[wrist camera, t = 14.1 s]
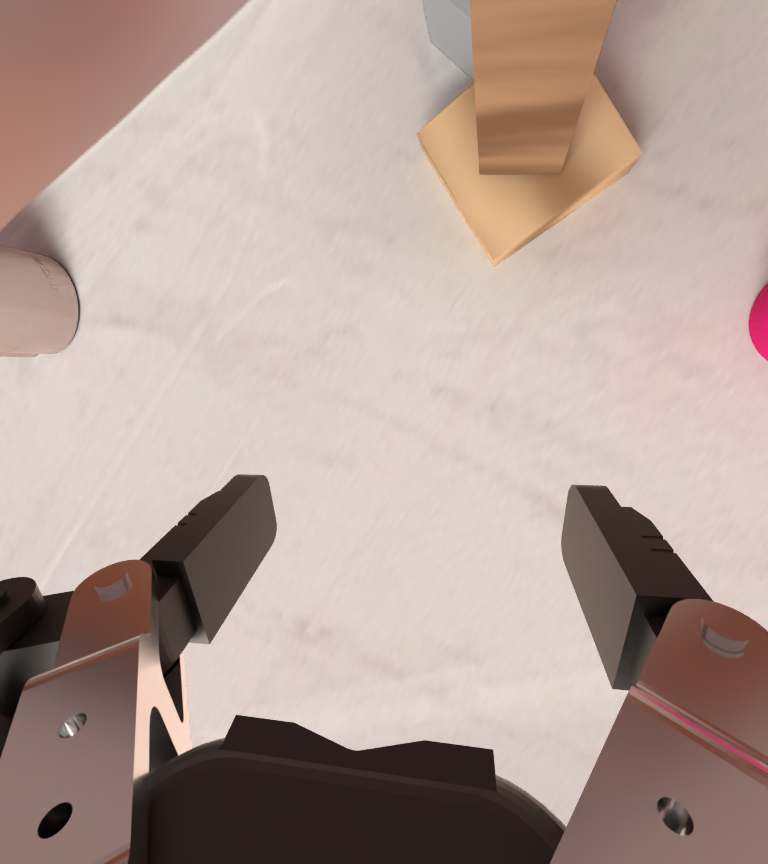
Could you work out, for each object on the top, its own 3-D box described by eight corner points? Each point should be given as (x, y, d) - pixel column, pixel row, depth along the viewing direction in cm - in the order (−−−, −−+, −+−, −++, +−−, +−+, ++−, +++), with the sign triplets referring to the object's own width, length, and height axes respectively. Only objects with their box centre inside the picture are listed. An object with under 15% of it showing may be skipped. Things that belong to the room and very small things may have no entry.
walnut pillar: (559, 174, 22) (633, -50, 11) (479, 174, 23) (468, -29, 12) (575, 86, 22) (671, -254, 10) (491, 90, 23) (492, -211, 11)
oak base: (493, 268, 27) (493, 257, 24) (425, 157, 27) (416, 133, 24) (625, 176, 24) (642, 151, 21) (549, 52, 24) (555, 10, 21)
